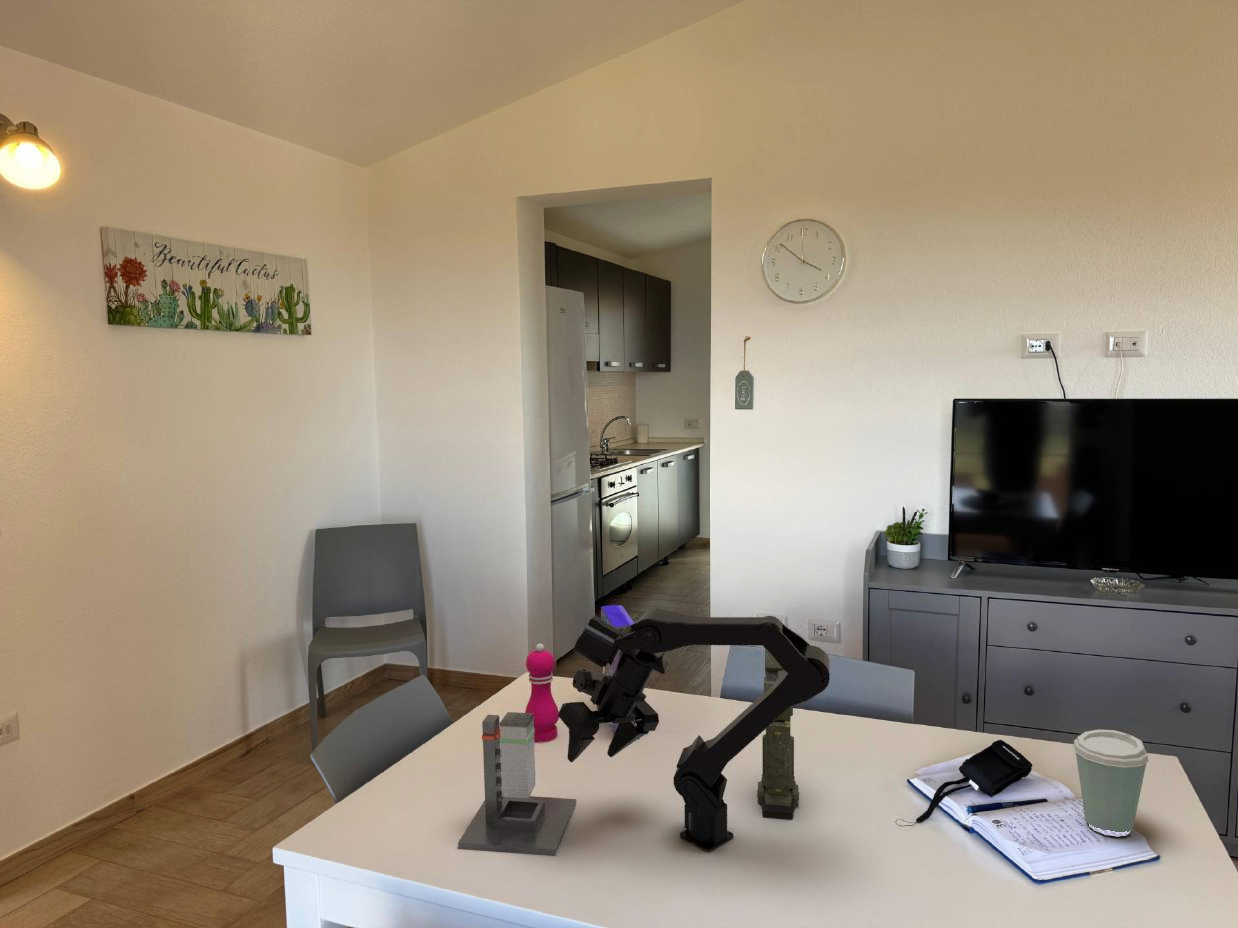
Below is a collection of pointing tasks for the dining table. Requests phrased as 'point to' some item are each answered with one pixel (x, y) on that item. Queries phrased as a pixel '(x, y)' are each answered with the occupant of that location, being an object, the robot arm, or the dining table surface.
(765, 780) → the mechanical leg
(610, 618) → the cereal box
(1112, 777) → the disposable coffee cup
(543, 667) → the pepper mill
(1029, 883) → the dining table surface
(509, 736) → the jack column
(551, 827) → the grey square stand
